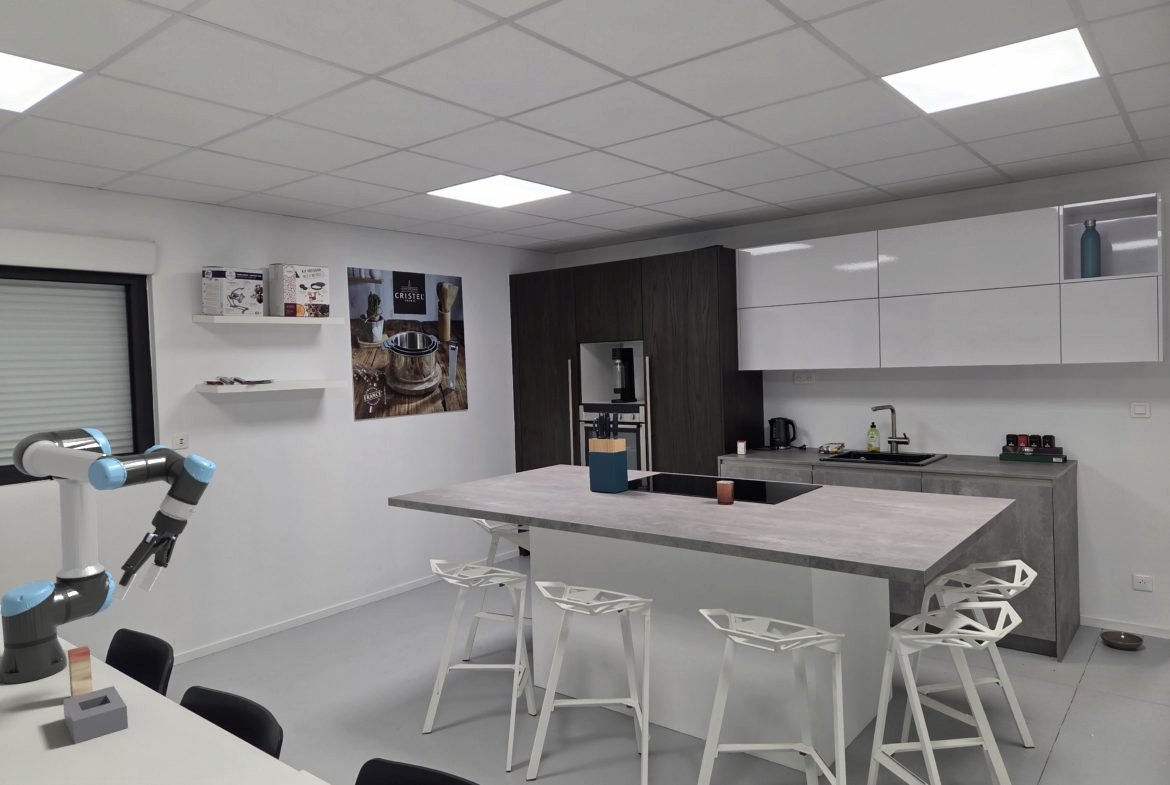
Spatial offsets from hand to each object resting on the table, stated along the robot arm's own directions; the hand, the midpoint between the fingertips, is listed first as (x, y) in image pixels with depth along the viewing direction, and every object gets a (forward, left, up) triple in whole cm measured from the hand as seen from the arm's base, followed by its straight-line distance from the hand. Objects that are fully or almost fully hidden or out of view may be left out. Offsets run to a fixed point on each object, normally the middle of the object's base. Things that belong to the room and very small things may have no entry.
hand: (131, 593), depth 188 cm
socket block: (+13, -11, -25) cm, 30 cm away
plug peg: (-6, -11, -25) cm, 28 cm away
